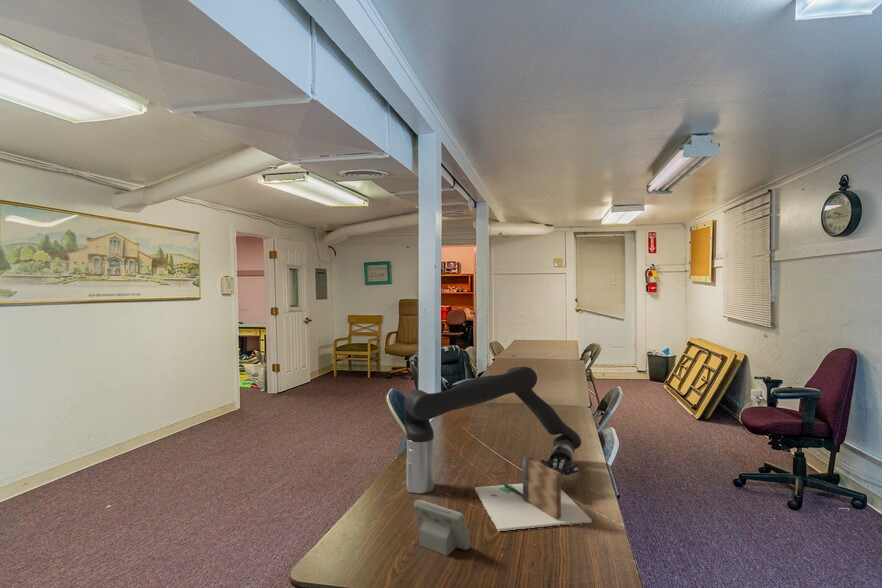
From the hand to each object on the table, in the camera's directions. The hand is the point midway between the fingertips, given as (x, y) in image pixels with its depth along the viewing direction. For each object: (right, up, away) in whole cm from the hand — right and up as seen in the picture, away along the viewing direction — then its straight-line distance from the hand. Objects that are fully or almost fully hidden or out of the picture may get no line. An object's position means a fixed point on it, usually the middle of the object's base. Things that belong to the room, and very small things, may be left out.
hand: (555, 475), depth 151 cm
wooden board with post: (-9, -7, -3) cm, 12 cm away
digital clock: (-37, -9, -25) cm, 45 cm away
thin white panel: (-9, -8, -3) cm, 13 cm away
